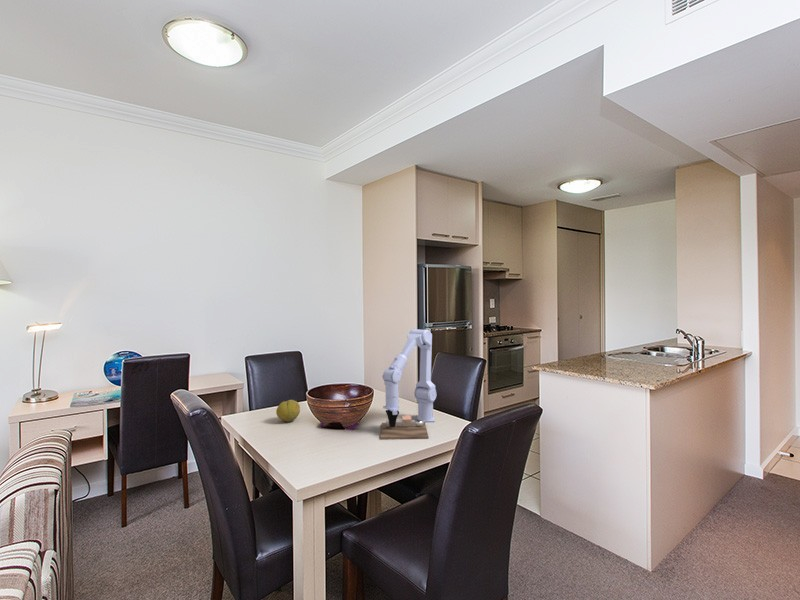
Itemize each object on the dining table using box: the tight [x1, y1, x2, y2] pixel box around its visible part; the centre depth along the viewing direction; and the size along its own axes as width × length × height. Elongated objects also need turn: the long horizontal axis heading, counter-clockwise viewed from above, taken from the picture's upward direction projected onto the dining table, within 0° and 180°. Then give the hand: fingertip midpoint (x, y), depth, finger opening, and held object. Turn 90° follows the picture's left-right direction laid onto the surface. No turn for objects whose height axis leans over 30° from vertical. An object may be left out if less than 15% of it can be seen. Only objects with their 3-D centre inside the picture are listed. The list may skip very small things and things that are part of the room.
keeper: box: [401, 414, 421, 422], centre depth 187 cm, size 9×7×4 cm
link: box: [385, 419, 424, 427], centre depth 186 cm, size 17×4×2 cm, turn 90°
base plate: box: [380, 422, 429, 440], centre depth 182 cm, size 20×20×1 cm
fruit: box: [275, 399, 301, 423], centre depth 198 cm, size 11×12×10 cm
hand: (392, 426), depth 182 cm, fingers closed
